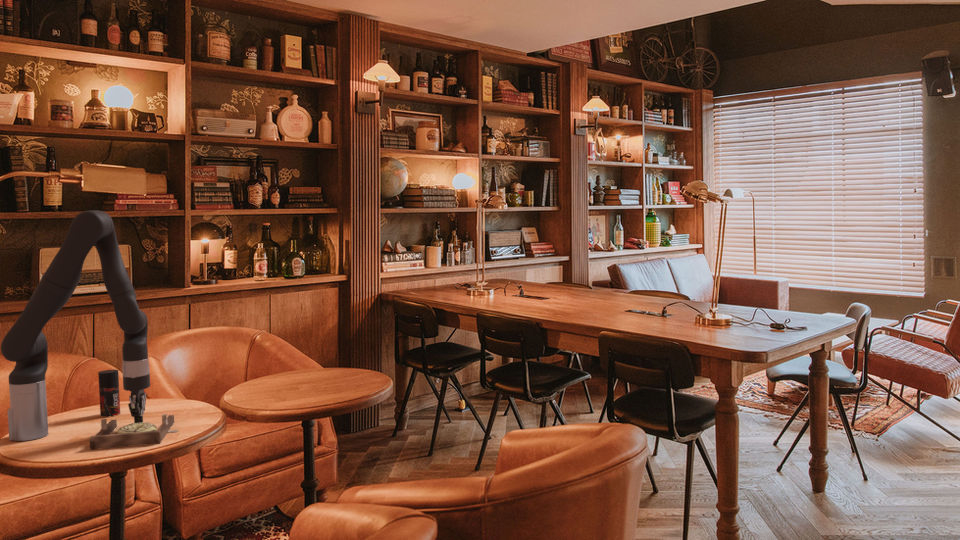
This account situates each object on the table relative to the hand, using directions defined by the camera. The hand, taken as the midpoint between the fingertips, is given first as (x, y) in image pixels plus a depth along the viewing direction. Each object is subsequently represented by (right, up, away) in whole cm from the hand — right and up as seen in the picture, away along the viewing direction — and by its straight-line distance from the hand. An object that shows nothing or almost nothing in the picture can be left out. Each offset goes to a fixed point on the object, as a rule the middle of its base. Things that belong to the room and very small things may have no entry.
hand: (139, 427), depth 207 cm
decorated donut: (+3, -2, -6) cm, 7 cm away
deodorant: (-20, 0, +19) cm, 27 cm away
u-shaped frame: (+1, -1, -5) cm, 5 cm away
